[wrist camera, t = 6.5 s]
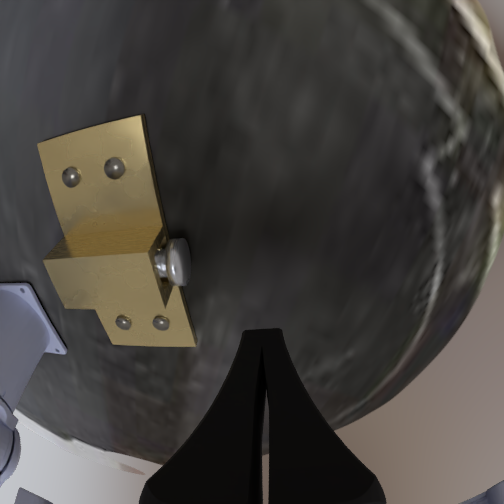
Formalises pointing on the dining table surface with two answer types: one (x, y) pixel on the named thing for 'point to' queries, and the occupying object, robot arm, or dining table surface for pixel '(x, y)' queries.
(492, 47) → the dining table surface
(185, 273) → the hinge pin
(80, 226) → the hinge leaves
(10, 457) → the robot arm
